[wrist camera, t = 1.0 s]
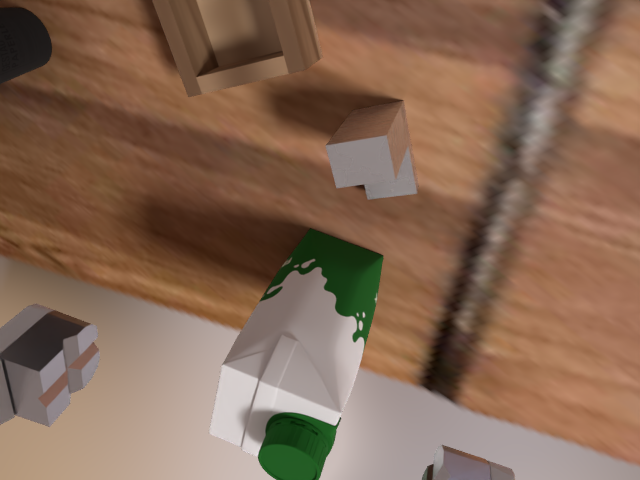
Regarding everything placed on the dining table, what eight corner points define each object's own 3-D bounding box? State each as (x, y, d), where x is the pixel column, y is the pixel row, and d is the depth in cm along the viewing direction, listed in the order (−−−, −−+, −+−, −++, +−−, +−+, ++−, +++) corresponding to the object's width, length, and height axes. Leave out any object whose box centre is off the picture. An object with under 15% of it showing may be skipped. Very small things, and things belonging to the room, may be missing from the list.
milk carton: (367, 319, 48) (308, 516, 32) (282, 286, 49) (182, 461, 32) (396, 250, 43) (344, 441, 27) (302, 215, 44) (194, 378, 27)
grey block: (403, 100, 36) (386, 135, 30) (418, 185, 39) (406, 234, 33) (352, 110, 38) (325, 145, 31) (371, 191, 41) (350, 239, 34)
